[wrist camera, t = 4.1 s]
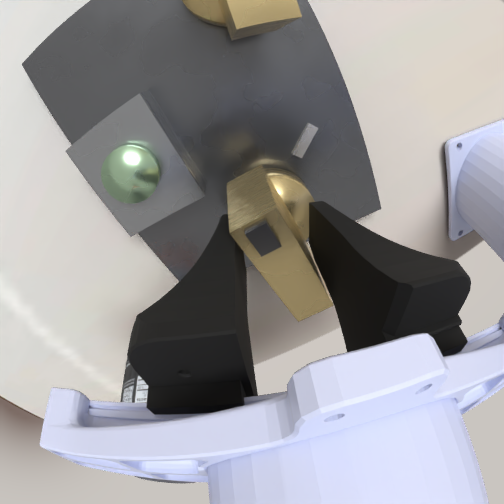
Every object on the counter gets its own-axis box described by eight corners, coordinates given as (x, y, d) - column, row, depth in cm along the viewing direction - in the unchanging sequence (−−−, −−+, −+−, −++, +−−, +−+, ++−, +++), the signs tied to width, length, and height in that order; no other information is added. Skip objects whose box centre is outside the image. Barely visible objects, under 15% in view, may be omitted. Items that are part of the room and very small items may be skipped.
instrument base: (254, -70, 6) (262, -97, 4) (373, 200, 15) (398, 228, 13) (32, 62, 8) (-4, 69, 6) (189, 280, 18) (186, 317, 15)
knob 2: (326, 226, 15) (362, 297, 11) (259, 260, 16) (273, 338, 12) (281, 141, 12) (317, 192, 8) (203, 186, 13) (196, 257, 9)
